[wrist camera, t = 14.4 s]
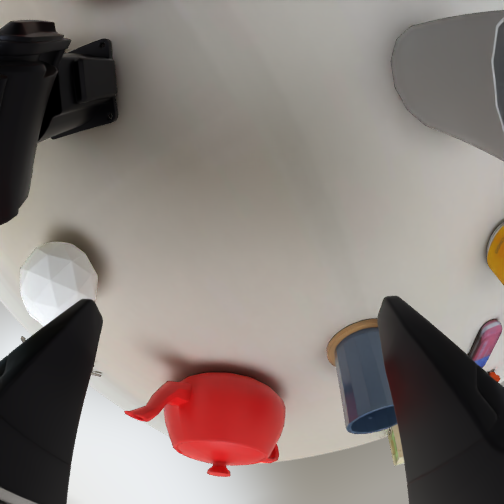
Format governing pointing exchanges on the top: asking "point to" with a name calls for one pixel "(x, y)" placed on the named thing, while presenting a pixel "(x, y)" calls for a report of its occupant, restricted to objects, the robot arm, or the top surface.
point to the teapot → (219, 419)
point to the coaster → (345, 333)
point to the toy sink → (396, 446)
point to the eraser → (485, 342)
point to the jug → (364, 383)
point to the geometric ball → (56, 280)
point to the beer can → (496, 252)
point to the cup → (455, 77)
